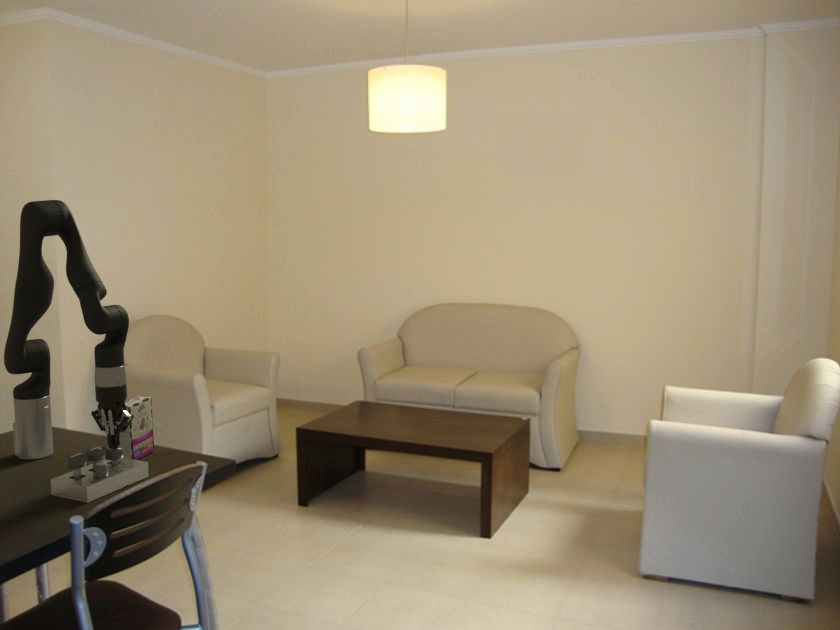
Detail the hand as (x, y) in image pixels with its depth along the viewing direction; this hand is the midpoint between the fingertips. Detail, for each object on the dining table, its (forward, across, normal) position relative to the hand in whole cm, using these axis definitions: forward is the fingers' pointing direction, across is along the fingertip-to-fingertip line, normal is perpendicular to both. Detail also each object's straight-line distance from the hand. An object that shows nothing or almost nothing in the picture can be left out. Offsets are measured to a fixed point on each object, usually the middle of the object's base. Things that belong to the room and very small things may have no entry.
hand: (114, 447), depth 196 cm
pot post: (+4, +5, -9) cm, 11 cm away
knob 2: (+4, 0, -6) cm, 7 cm away
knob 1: (+4, 0, -12) cm, 13 cm away
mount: (+8, +1, -6) cm, 10 cm away
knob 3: (+6, 0, 0) cm, 6 cm away
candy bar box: (+8, -8, +15) cm, 19 cm away
